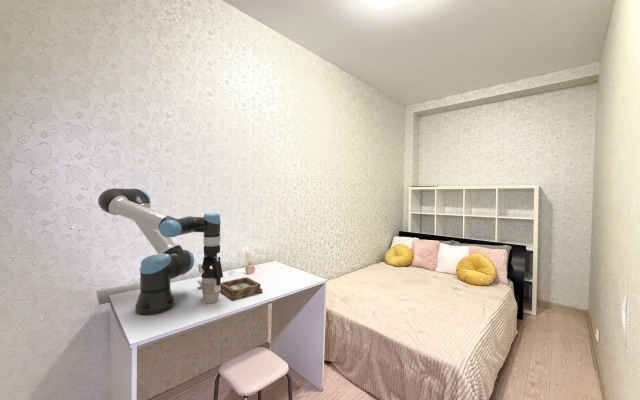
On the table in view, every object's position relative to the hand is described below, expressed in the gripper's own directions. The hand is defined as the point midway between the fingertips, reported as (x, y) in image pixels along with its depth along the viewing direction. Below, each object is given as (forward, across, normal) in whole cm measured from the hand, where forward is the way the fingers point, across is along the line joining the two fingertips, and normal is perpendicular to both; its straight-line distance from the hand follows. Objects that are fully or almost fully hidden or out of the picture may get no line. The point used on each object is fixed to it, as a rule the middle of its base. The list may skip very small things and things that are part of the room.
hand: (211, 287), depth 129 cm
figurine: (+6, +19, -5) cm, 21 cm away
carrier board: (+6, +1, -16) cm, 17 cm away
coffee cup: (+7, 0, 0) cm, 7 cm away
